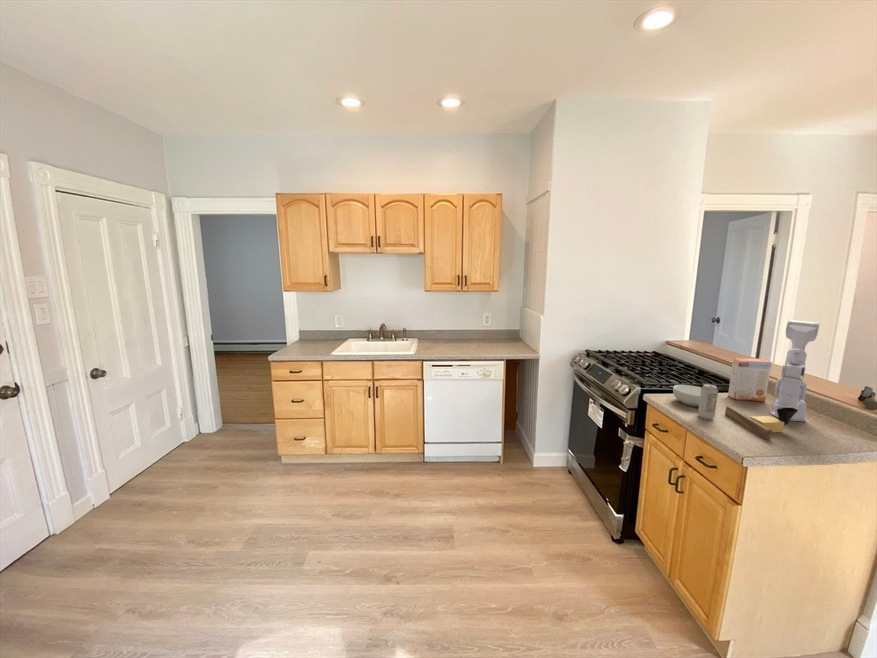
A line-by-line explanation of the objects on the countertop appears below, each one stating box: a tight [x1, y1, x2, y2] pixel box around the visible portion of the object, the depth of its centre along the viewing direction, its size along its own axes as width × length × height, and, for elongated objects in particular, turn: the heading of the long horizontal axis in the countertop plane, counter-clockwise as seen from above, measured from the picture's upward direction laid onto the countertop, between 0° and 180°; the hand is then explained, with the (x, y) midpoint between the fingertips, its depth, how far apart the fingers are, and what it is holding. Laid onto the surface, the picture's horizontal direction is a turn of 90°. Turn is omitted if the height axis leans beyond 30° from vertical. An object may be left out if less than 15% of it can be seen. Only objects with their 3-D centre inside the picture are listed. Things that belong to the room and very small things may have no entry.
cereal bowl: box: [672, 384, 702, 407], centre depth 177 cm, size 17×17×7 cm
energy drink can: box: [697, 383, 719, 420], centre depth 160 cm, size 6×6×15 cm
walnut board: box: [724, 405, 772, 440], centre depth 153 cm, size 2×24×4 cm, turn 173°
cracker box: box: [727, 357, 772, 402], centre depth 182 cm, size 14×6×21 cm, turn 77°
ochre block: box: [749, 415, 785, 432], centre depth 150 cm, size 9×6×4 cm, turn 92°
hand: (783, 424), depth 149 cm, fingers closed, pressing on ochre block
